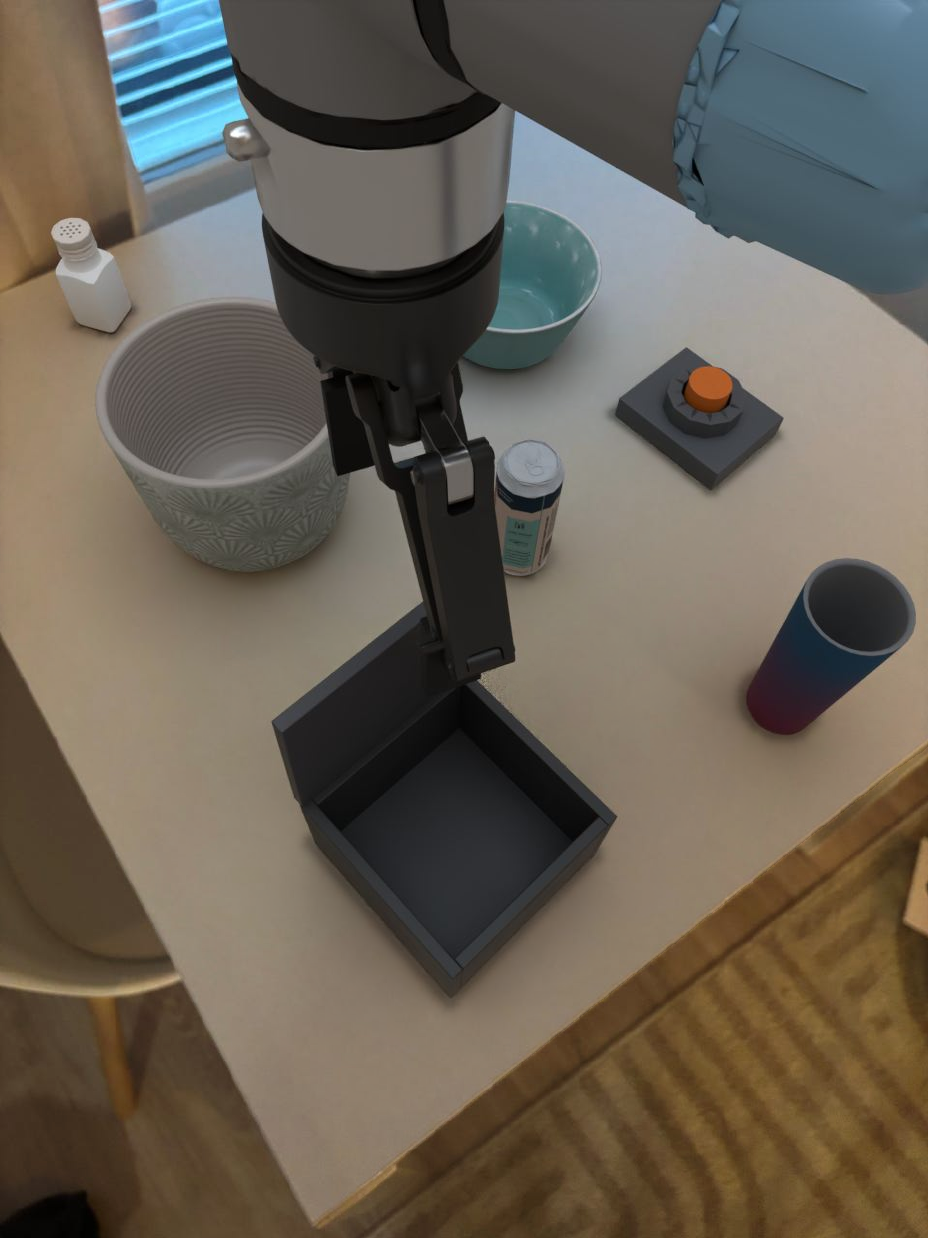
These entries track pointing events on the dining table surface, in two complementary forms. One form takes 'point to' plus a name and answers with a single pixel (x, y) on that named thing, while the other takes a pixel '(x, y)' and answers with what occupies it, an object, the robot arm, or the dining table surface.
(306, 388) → the planter
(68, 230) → the pepper shaker
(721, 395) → the button
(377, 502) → the dining table surface
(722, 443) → the control block
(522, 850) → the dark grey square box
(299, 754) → the dark grey square slab
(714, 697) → the dining table surface
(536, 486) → the beer can
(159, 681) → the dining table surface
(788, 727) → the cup
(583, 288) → the bowl
